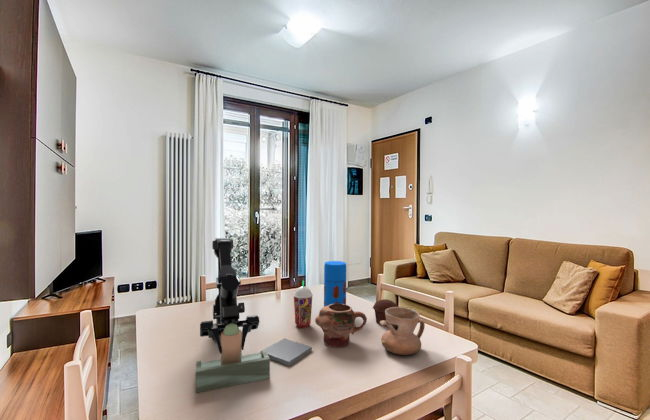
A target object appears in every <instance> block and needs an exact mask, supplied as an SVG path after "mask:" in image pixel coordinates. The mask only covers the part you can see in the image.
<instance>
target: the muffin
mask: <svg viewBox="0 0 650 420" xmlns="http://www.w3.org/2000/svg"><path fill="white" fill-rule="evenodd" d="M391 307H399V306H398V305H397V304H396V302H394V300H391V299H386V298H385V299H384V298H383V299H379V300H377V301H376V302H375V303H374V304H373V307H372V309H373V310H374V315H375V316H374V317H375V323H376V324H377V325H380V326H382V325H381V324H380V321H383V320H385V321H386V316H385V310H386V309H388V308H391ZM384 327H388V326H387V325H384Z"/></svg>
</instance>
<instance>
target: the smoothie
mask: <svg viewBox="0 0 650 420" xmlns="http://www.w3.org/2000/svg"><path fill="white" fill-rule="evenodd" d="M301 283H302V284H301V285H302V286H299V287H297V288H296V290H295V291H294V293H293V305H294V307H293V309H294V323H295V325H296V327H298V328H300V329H303V328H304V329H305V328H308V327H309V326H310V324H311V320H312V305H313V293H312V290H311V289H310V288H309V287H308V286H305V280H302V282H301Z"/></svg>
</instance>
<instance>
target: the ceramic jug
mask: <svg viewBox="0 0 650 420" xmlns="http://www.w3.org/2000/svg"><path fill="white" fill-rule="evenodd" d="M385 316H386V321H385V320H383V321H380V324H381V325H380V324H379V325H380V326H383V325H387V326H386V327H388V329H389V330H387V331H385V332H384V333H382V336H381V338H380V341H381V344H382V347H383V348H384V349H386V350H387V351H388V352H390V353H392V354H394V355H400V356H411V355H414V354H417V353H418V352H420V350H421V349H422V342H421V337H422V336H423V333H424V331H425V321H424V320H423V319H422V318H420V313H419V312H418V311H417V310H416V309H413V308H408V307H403V306H398V307H391V308H388V309H386V310H385ZM418 324H419V329H418V332H417V334H415V333H414V331H415V330H416V328H417V325H418Z"/></svg>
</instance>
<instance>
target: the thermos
mask: <svg viewBox="0 0 650 420" xmlns="http://www.w3.org/2000/svg"><path fill="white" fill-rule="evenodd" d="M323 270H324V271H323V274H324V275H323V307H325V306H328V305H330V304H335V303H340V304H345V305H347V263H346V262H345V261H340V260H330V261H325V262H324V266H323Z"/></svg>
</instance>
